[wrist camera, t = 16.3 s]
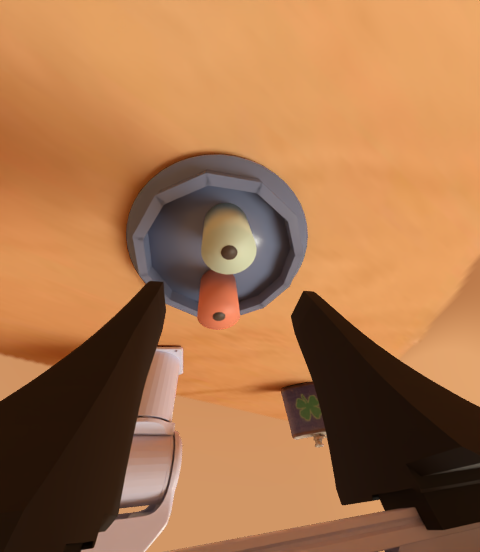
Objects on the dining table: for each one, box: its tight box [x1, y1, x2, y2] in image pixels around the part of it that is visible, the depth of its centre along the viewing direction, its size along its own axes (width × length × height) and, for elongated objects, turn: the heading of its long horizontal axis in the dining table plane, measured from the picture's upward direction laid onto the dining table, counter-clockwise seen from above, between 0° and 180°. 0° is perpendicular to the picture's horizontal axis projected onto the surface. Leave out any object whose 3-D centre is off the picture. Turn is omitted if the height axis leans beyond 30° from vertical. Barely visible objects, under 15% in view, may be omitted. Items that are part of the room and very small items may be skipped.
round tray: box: [126, 154, 308, 317], centre depth 19 cm, size 18×18×2 cm
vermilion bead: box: [197, 270, 240, 330], centre depth 20 cm, size 4×4×5 cm
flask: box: [281, 382, 327, 447], centre depth 40 cm, size 9×3×11 cm, turn 97°
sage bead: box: [201, 203, 256, 274], centre depth 16 cm, size 4×4×5 cm
